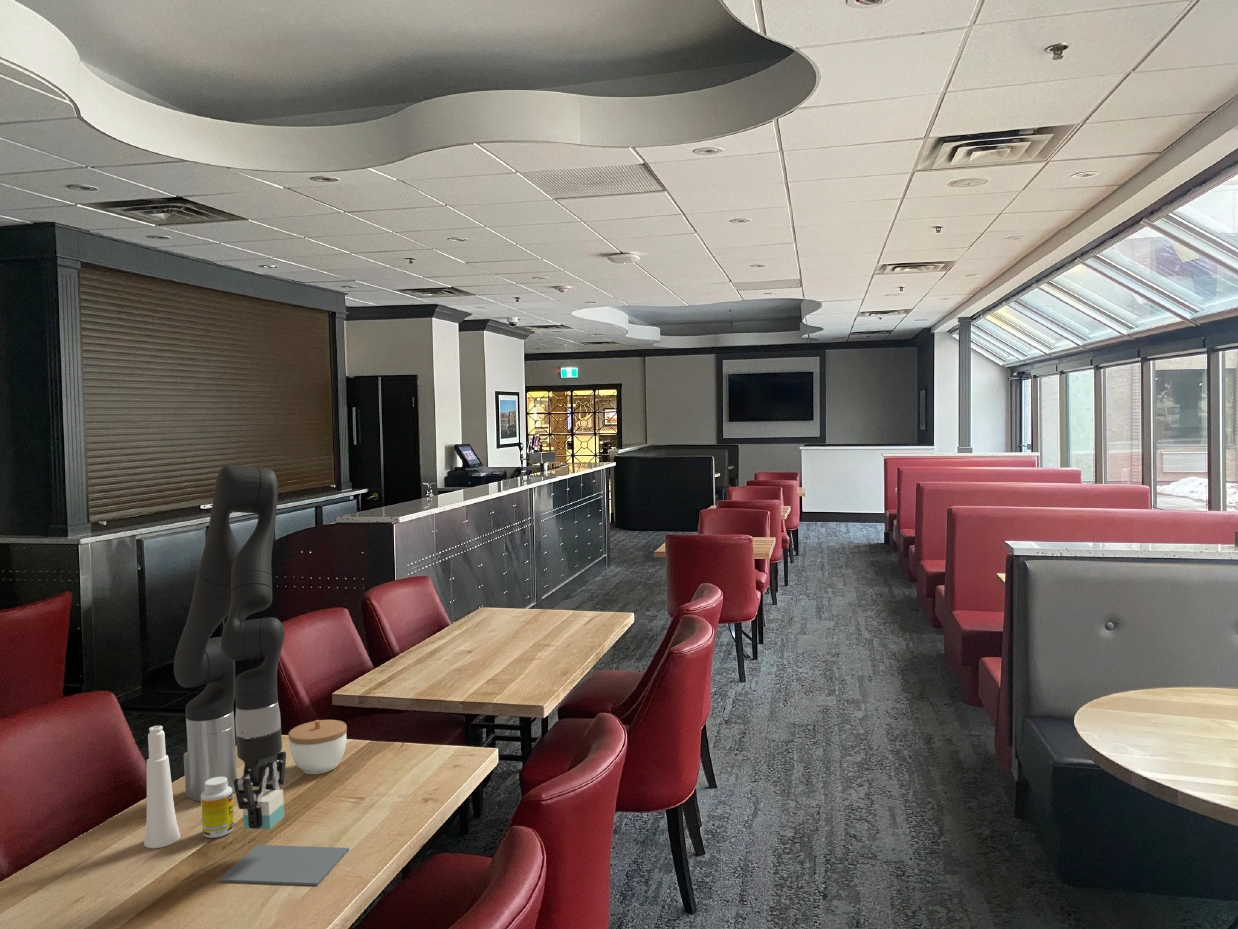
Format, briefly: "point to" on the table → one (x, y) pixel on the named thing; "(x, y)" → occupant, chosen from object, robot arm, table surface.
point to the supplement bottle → (217, 808)
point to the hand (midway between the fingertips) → (263, 819)
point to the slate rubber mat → (285, 865)
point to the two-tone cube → (268, 809)
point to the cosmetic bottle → (159, 794)
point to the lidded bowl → (318, 745)
